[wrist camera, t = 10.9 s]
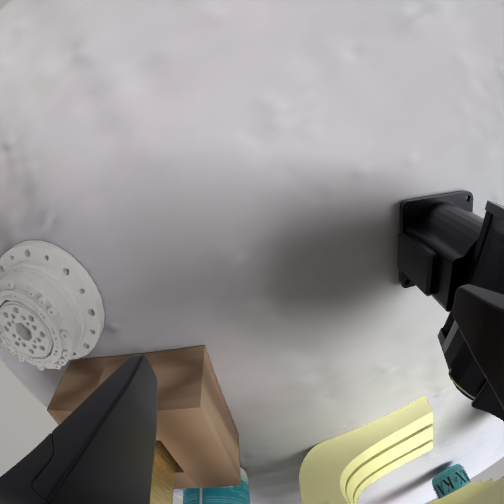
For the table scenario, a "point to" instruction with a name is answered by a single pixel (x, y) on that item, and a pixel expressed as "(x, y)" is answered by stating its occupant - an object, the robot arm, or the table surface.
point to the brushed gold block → (162, 475)
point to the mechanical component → (47, 305)
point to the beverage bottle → (450, 480)
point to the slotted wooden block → (171, 412)
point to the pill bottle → (219, 493)
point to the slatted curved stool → (380, 460)
